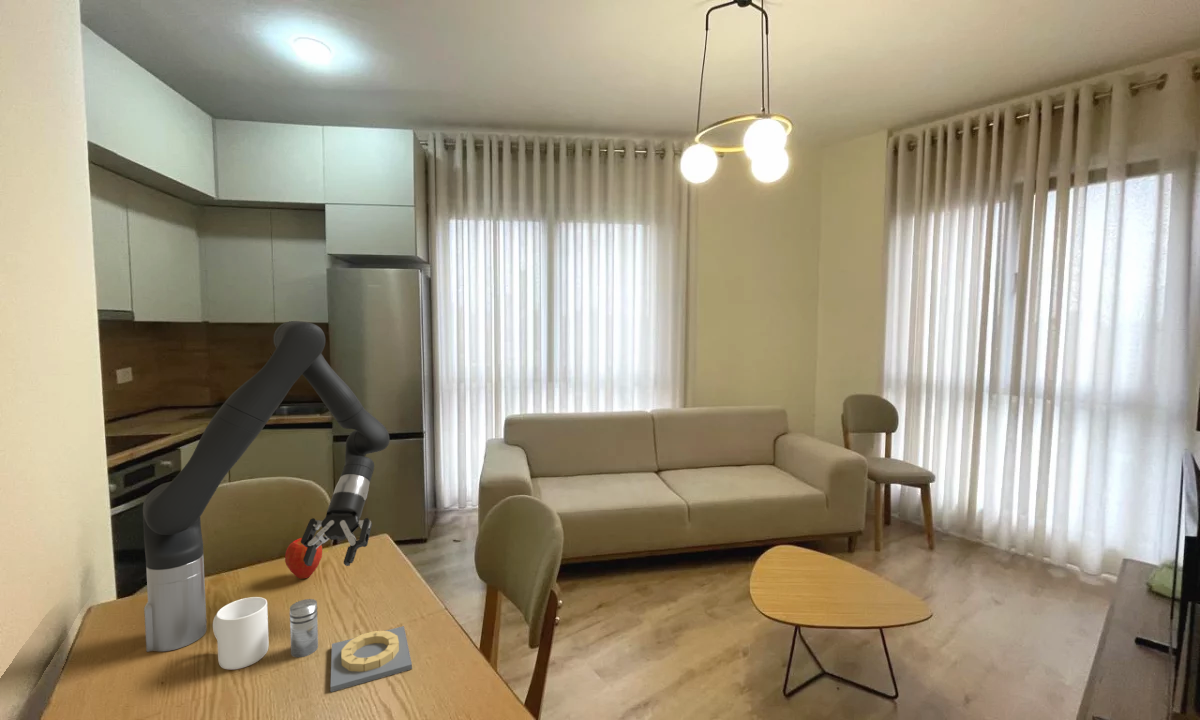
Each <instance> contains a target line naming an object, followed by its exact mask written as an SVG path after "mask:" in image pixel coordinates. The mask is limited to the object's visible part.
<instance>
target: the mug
mask: <svg viewBox="0 0 1200 720" xmlns="http://www.w3.org/2000/svg"><path fill="white" fill-rule="evenodd" d="M268 615H269V614H268V600H267V599H266V598H264V597H261V596H251V597H244V598H241V599H237V600H235V601H231V602H230V603H227V604H225V605H224V606H223V607H221V608H219V610H218V611H217V612H216V614H215V615H214V617H213V621H212V630H213V634H214V637H215V638H216V640H217V641H216V642H217V659H218V664H219V666H220V667H221V668H222V669H224V670H232V671H233V670H239V669H244V668H246V667H249V666H251V665H254V664H256V663H257V662H259V661H260V660H261V659H262V658H263V657H264V656H266V654H267V653H268V650H269V618H268Z"/></svg>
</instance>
